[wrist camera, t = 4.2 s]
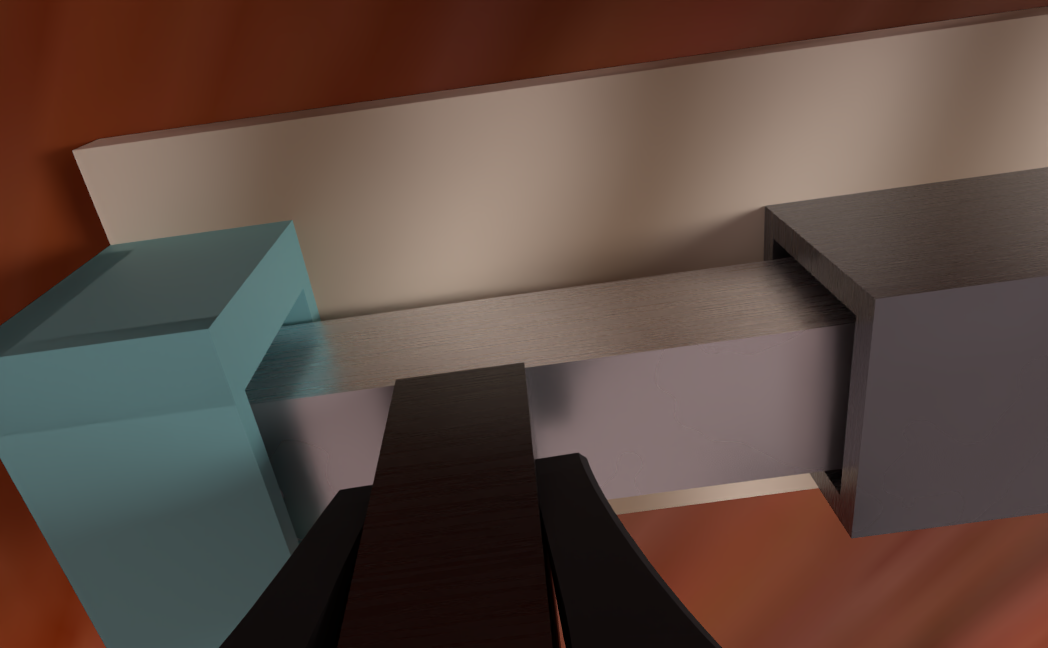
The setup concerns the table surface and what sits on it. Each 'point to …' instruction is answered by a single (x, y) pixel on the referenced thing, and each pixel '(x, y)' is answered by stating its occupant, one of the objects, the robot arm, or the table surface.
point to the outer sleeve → (935, 346)
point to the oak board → (592, 168)
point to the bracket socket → (156, 429)
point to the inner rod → (540, 427)
